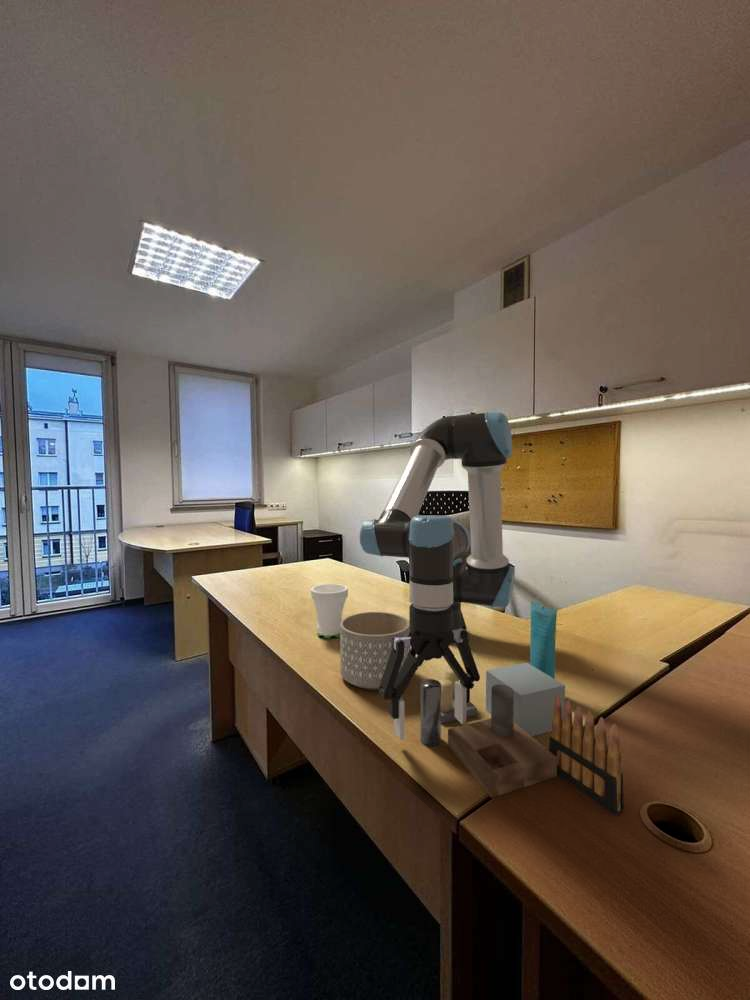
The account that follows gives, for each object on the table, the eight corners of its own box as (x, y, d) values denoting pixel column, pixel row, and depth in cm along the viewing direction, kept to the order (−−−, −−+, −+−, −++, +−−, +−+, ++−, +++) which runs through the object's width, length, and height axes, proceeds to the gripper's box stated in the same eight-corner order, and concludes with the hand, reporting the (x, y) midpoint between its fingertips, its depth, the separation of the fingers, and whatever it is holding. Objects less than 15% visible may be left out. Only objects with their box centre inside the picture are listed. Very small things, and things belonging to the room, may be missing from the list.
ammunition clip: (547, 767, 62) (548, 692, 62) (555, 763, 63) (556, 690, 63) (616, 816, 53) (618, 729, 52) (624, 811, 54) (625, 725, 53)
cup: (328, 625, 126) (328, 581, 126) (355, 633, 120) (355, 587, 119) (303, 636, 117) (302, 589, 117) (330, 645, 110) (330, 595, 110)
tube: (564, 699, 82) (565, 608, 81) (548, 704, 80) (549, 611, 79) (535, 683, 89) (536, 599, 88) (520, 688, 87) (521, 602, 86)
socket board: (505, 730, 71) (505, 677, 71) (556, 776, 60) (557, 712, 60) (447, 746, 67) (448, 688, 67) (491, 798, 56) (492, 729, 56)
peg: (434, 731, 71) (434, 677, 71) (444, 743, 68) (445, 687, 67) (416, 736, 70) (416, 681, 70) (426, 748, 67) (426, 690, 66)
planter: (424, 676, 92) (424, 622, 92) (374, 702, 81) (374, 642, 80) (375, 654, 104) (375, 607, 104) (326, 675, 93) (325, 622, 92)
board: (454, 694, 84) (454, 664, 84) (476, 715, 76) (477, 682, 76) (421, 702, 81) (421, 671, 81) (440, 723, 74) (440, 689, 73)
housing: (526, 700, 82) (526, 662, 81) (564, 727, 72) (565, 685, 72) (485, 709, 78) (486, 670, 78) (520, 740, 69) (521, 695, 69)
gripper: (476, 592, 76) (475, 703, 76) (359, 605, 68) (359, 729, 68) (501, 603, 69) (500, 725, 69) (374, 619, 60) (374, 757, 61)
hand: (430, 727), depth 69 cm, fingers open, 11 cm apart
